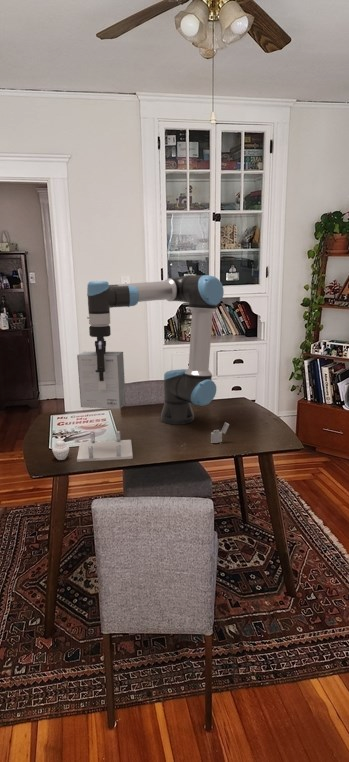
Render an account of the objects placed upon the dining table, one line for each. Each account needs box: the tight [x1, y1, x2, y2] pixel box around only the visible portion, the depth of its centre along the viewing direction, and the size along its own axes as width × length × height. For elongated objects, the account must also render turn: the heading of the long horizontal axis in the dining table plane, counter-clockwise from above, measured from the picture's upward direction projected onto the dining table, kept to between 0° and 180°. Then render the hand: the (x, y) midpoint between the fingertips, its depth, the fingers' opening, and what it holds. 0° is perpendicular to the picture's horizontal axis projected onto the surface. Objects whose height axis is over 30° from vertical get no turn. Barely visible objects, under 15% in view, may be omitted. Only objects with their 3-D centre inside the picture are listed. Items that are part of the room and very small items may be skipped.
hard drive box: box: [76, 351, 127, 410], centre depth 180 cm, size 16×8×20 cm, turn 79°
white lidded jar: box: [51, 440, 70, 461], centre depth 179 cm, size 6×6×7 cm
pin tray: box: [76, 430, 134, 463], centre depth 185 cm, size 20×18×5 cm
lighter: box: [210, 422, 230, 444], centre depth 193 cm, size 7×2×8 cm, turn 103°
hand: (102, 386), depth 180 cm, fingers closed on hard drive box, 9 cm apart
